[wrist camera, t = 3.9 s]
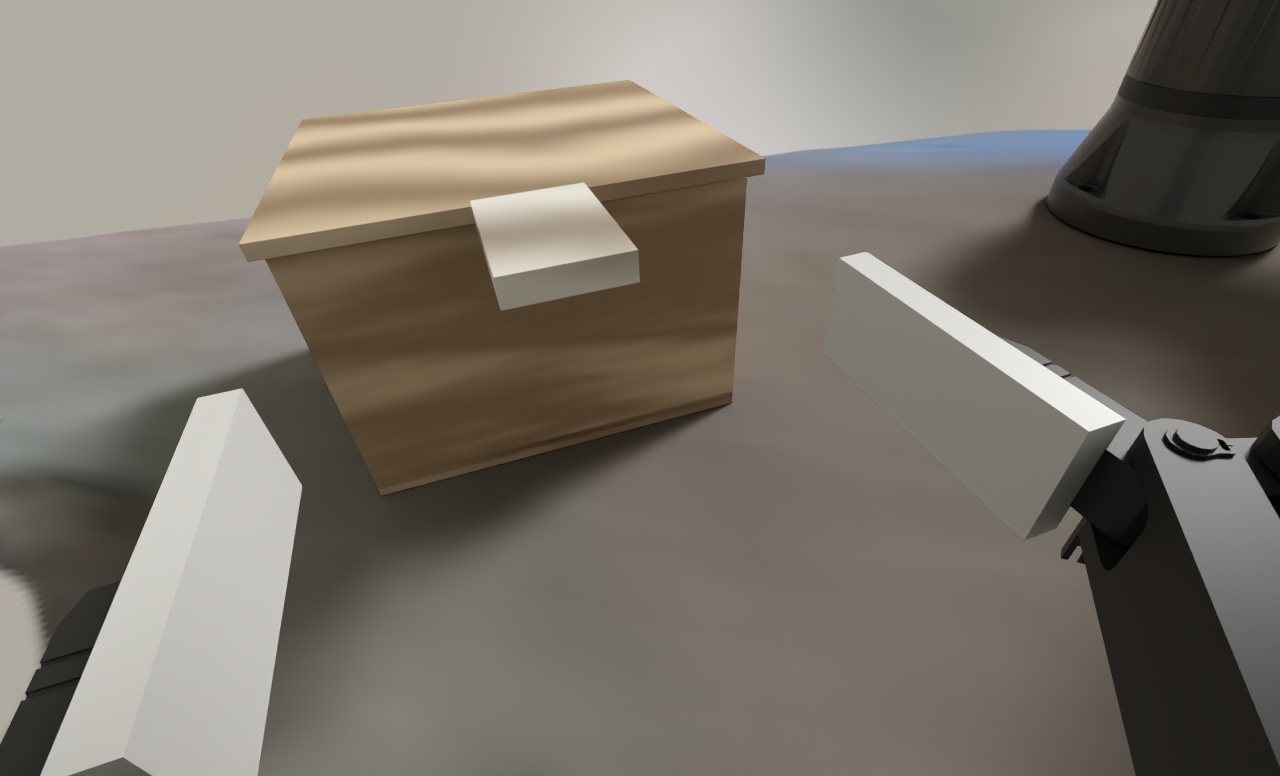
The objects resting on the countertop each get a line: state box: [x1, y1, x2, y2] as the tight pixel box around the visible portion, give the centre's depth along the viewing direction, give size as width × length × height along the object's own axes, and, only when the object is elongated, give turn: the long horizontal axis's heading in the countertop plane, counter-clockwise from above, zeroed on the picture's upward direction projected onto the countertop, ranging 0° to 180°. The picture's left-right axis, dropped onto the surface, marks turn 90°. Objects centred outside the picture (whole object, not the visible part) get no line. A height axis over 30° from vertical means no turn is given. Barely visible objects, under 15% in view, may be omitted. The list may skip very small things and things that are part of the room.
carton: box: [265, 177, 747, 496], centre depth 31 cm, size 16×18×12 cm
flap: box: [239, 80, 765, 311], centre depth 24 cm, size 23×18×1 cm
